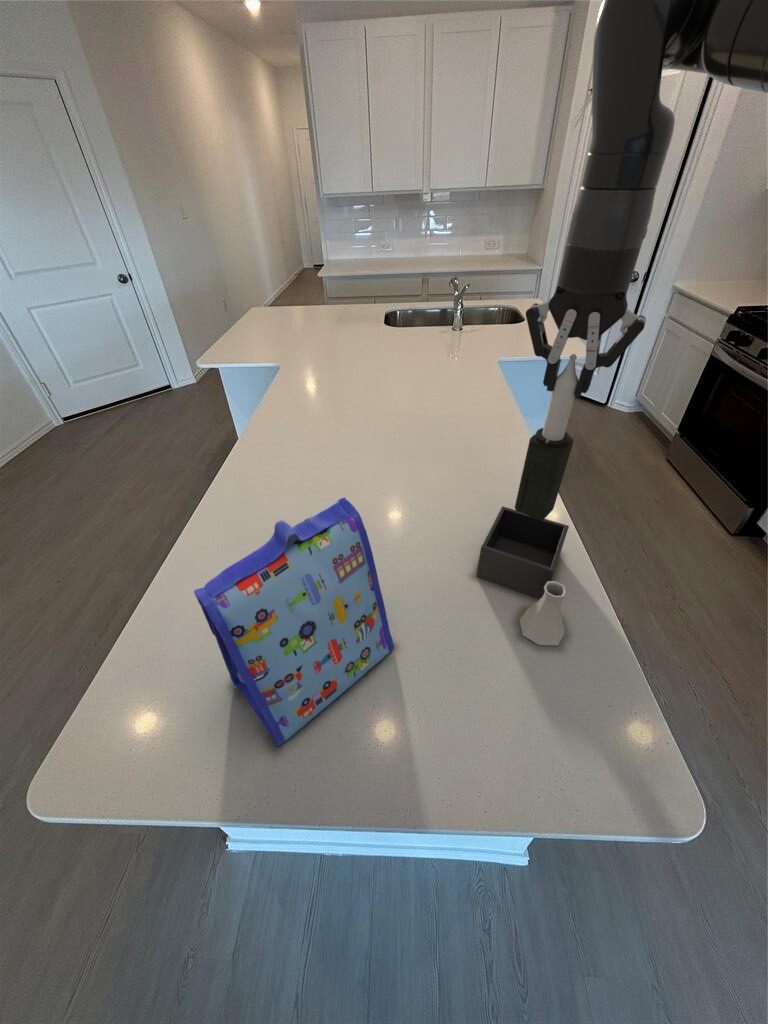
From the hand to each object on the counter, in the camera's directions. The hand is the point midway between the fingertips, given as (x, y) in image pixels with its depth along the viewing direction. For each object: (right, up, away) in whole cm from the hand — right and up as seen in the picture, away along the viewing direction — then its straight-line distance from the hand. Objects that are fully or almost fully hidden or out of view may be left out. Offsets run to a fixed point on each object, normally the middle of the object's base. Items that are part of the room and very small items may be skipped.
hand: (564, 390), depth 58 cm
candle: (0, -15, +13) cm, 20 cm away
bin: (+2, -26, +25) cm, 36 cm away
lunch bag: (-34, -40, +10) cm, 54 cm away
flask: (+2, -35, +15) cm, 38 cm away
